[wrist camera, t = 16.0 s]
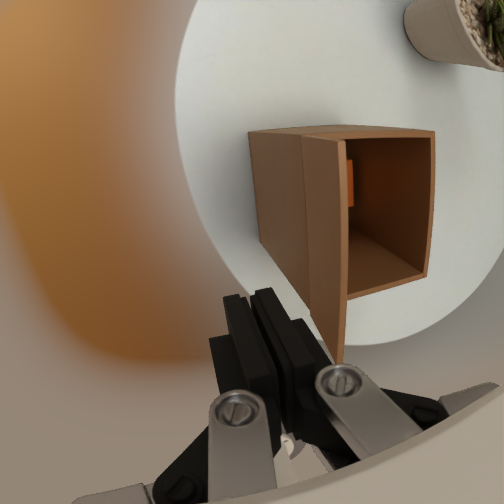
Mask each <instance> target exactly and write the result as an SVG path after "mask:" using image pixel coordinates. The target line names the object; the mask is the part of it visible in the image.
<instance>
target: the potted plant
mask: <svg viewBox="0 0 504 504" xmlns="http://www.w3.org/2000/svg"><path fill="white" fill-rule="evenodd" d="M404 25H405V30H406V33H407V35H408V38H409V39H410V41H411V43H412V45H413V46H414V47H415V48H416V49H417V51H418V52H419V53H421V54H422V55H423V56H424V57H426V58H428V59H430V60H434V61H438V62H446V63H455V64H463V65H470V66H477V67H483V68H486V69H488V70H493V71H499V72H504V0H415V1H414V2H412V3H411V4H410V5H409V6H408V7H407V8H406V10H405V13H404Z"/></svg>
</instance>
